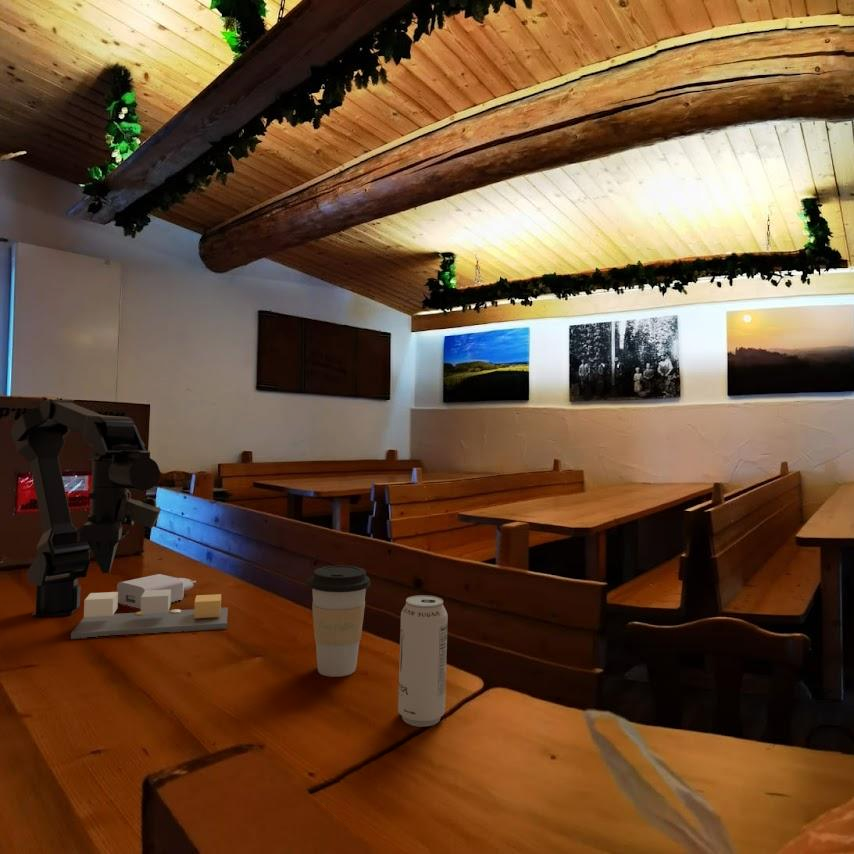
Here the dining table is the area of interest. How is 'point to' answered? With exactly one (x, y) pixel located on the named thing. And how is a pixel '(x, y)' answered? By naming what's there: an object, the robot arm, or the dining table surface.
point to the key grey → (155, 601)
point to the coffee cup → (338, 617)
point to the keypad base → (147, 623)
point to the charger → (151, 588)
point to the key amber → (207, 606)
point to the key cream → (101, 604)
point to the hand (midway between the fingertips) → (106, 572)
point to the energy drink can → (422, 660)
